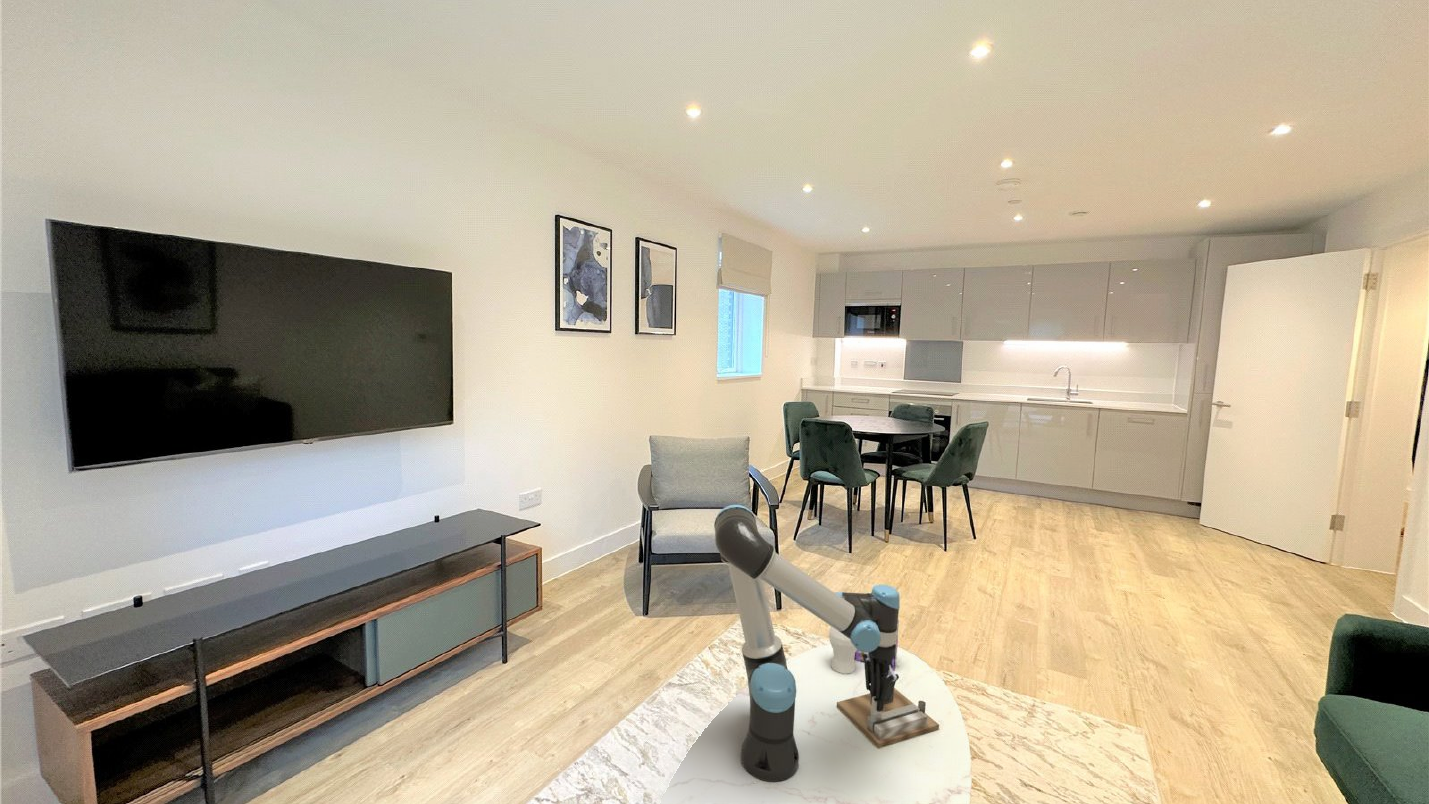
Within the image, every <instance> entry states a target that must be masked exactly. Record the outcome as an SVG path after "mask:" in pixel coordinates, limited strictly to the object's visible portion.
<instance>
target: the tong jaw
mask: <svg viewBox="0 0 1429 804" xmlns="http://www.w3.org/2000/svg"><path fill="white" fill-rule="evenodd" d="M917 712H920V709H919V708H918V705H916V704H915V703H914V704H911V705H908V706H904V707H901V708H897V709H894V710H890V711H887V712H883V713H880V714H877V715H873V716H869V717H867V728H868V729H869V730H870V731H871V732H874V725H876V724H880V723H883V722H886V721H890V720H893V719H897V718H900V717H903V716H907V715H910V714H913V713H917Z"/></svg>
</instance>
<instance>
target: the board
mask: <svg viewBox="0 0 1429 804" xmlns="http://www.w3.org/2000/svg"><path fill="white" fill-rule="evenodd" d="M870 702H871V695H870V693H867V694H863V695H859V696H855V697H852V698H848V699H844V700H840V701H836V708H837V709H838V710H839V711H840V712H841V713H842V714H843V715H844V716H845V717H846V718H847V719H848V720H849V722H851V723H852V724H853V725H854V726H855V727H856V728H857V729H858V730H859V731H860V732H861V733H862V734H863V735H864V736H865V737H866V739H868V740H869V741H870V742H871V743H872V744H873V745H874V746H875V748H877V749H878V750H879V749H882V748H885V747H888V746H892V745H894V744H897V743H901V742H905V741H907V740H910V739H914V738H916V737H919V736H923V735H925V734H926V735H927V734H928V733H932V732H936V731H938V730H940V724H939V723H938V722H937V721H936V720H934V719H933V718H932V717H930V715H928V714H927V713H926V707H927V706H926V702H925V701H923V700H919V701H918V705H917V707H918V708H919V709H920V712H917V713H913V714H910V715H907V716H903V717H900V718H897V719H893V720H890V721H886V722H883V723H880V724H876V725H874V732H871V731H870V730H869V729H868V728H867V717H869V716H871V703H870ZM911 704H915V703H913V702H912V700H910V699H908V697H906V695H904V694H903V693H901V692H900V691H899V690H898V689H897V688H895V687H894V696H893V702H889V703H886V704H884V706H883V711H882V713H883V712H887V711H890V710H894V709H897V708H901V707H904V706H908V705H911Z"/></svg>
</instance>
